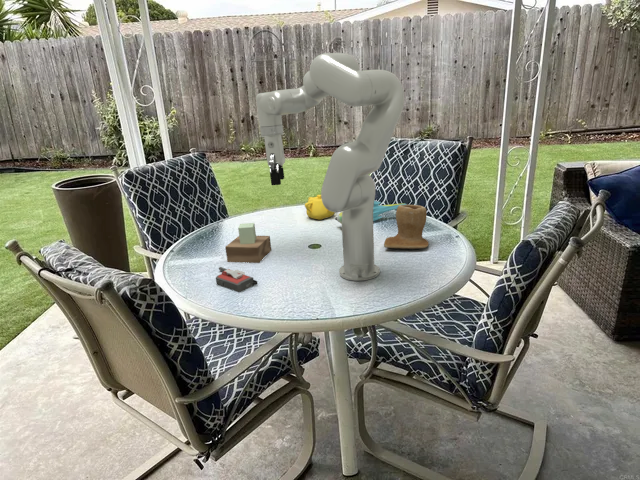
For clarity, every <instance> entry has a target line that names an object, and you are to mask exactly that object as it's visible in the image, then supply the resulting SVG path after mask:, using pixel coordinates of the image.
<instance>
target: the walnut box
mask: <svg viewBox="0 0 640 480" xmlns="http://www.w3.org/2000/svg"><path fill="white" fill-rule="evenodd" d="M271 252H272V245H271V236H270V235H256V241H255V243H253V244H240V238H239V235H238V236H237V237H235V239H233V240H232V241H230V242H229V244H227V245H226V246H225V255H226V260H227V263H243V262H245V263H244V264H246V262H247V263H248V262H249V264H259V263H261V262H262V261H263V260H264V259H265V258H266V257H267V256H266V255H267V254H268V253H269V254H270V253H271ZM269 254H268V255H269ZM265 256H266V257H265ZM264 257H265V258H264ZM263 258H264V259H263ZM262 259H263V260H262Z"/></svg>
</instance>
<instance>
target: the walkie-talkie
mask: <svg viewBox="0 0 640 480" xmlns="http://www.w3.org/2000/svg"><path fill="white" fill-rule="evenodd" d="M218 270H219V271H221V273H220V274H217V275H216V276H215V282H216V285H217V286H219V287H223V288H226V289H228V290H231V291H233V290H234V292H237V293H242V292H244V291H246V290H249V289H250V288H252V287H254V286H256V285H258V280H256V279H254V277H253V276H249V275H247V274H246V272H245V271H241V270H239V269H235V270H233V269H230V268H228V269H227V268H225V267H222V266H220V267H218Z"/></svg>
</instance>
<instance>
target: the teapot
mask: <svg viewBox="0 0 640 480" xmlns="http://www.w3.org/2000/svg"><path fill="white" fill-rule="evenodd" d="M307 199H308V200H307V202H305V203H304V207H305V209H306V215H307V217H308V218H311V219H315V220H318V221H323V219H326V218H331V217H333V216H334V215H335V213H336V212H331V211H329V210H328V209H326V208H325V206H324V205H323V202H322V198H321V194H317V195H316V196H314V197H313V196H309V197H308V198H307Z"/></svg>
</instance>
